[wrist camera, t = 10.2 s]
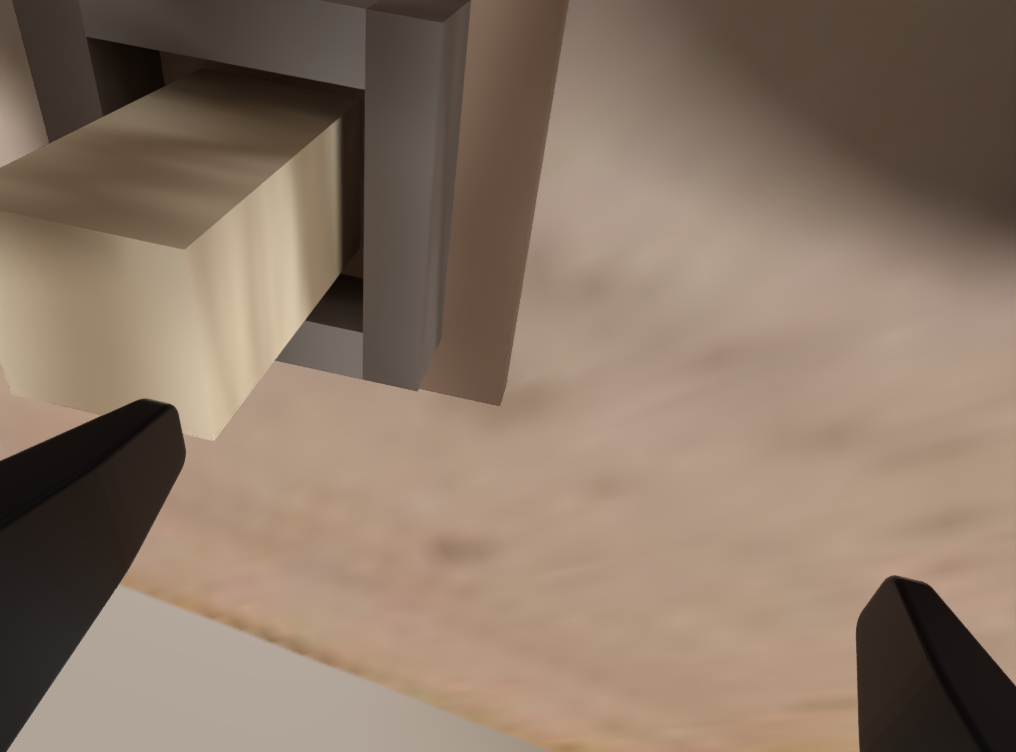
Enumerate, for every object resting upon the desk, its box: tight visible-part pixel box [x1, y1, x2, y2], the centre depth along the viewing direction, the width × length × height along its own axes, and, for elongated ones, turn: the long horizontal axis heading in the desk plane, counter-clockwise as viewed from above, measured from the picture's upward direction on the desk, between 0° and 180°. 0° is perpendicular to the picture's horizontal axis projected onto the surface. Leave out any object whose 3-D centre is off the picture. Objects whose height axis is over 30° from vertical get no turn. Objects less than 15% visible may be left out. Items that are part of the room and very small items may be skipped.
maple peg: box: [0, 68, 361, 441], centre depth 16 cm, size 4×4×8 cm
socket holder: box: [12, 0, 569, 406], centre depth 18 cm, size 13×13×4 cm
